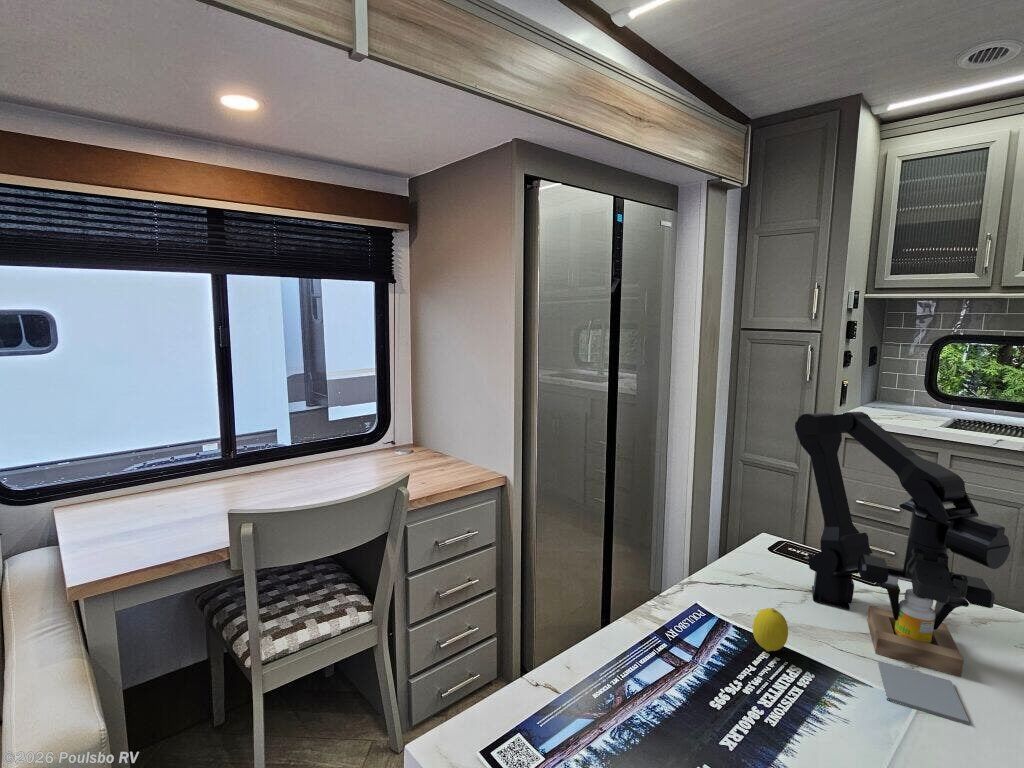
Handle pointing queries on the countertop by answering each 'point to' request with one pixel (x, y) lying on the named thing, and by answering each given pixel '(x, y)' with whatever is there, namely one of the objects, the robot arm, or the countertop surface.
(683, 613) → the countertop surface
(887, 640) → the walnut open tray
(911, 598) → the supplement bottle
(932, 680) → the grey rubber mat
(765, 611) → the lemon
